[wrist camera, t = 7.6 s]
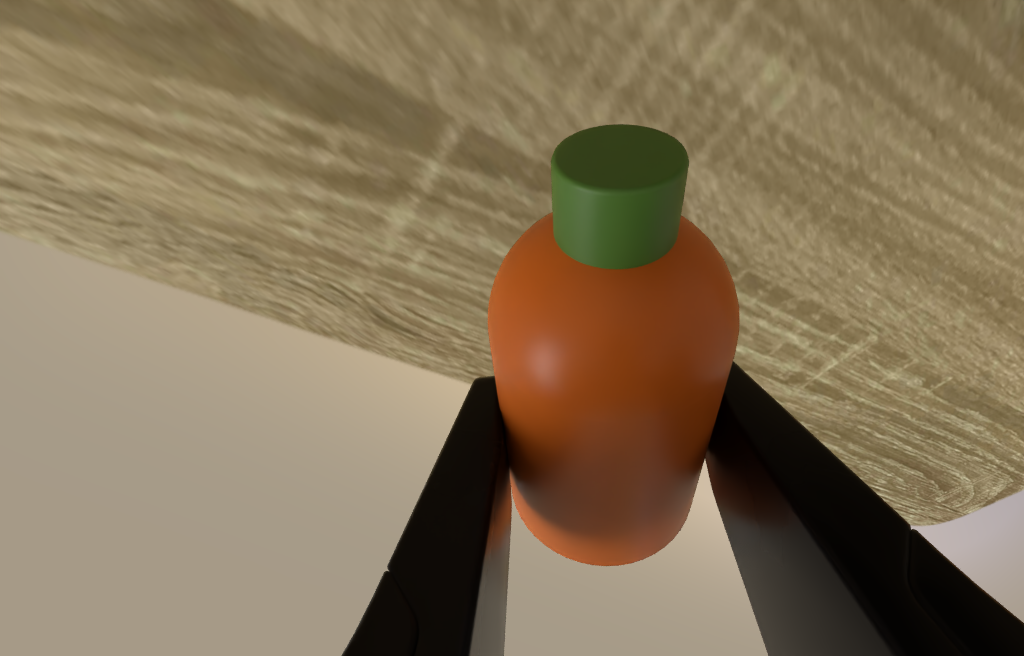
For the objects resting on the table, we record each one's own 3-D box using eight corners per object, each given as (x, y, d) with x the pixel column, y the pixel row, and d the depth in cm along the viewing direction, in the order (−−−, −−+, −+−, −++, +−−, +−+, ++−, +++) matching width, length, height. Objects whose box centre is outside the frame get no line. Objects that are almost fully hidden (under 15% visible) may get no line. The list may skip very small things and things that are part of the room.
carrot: (647, 498, 14) (684, 637, 12) (518, 512, 14) (532, 655, 12) (721, 74, 7) (849, 227, 5) (461, 103, 7) (468, 270, 5)
